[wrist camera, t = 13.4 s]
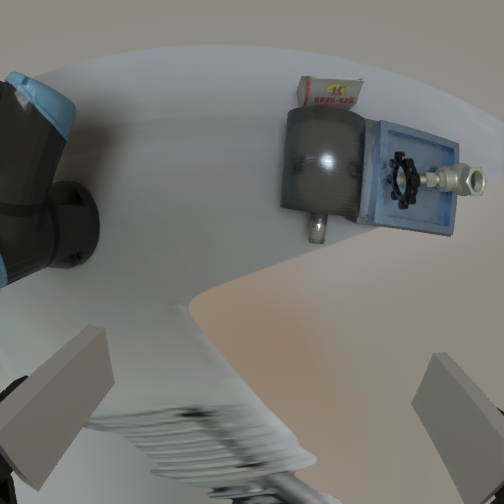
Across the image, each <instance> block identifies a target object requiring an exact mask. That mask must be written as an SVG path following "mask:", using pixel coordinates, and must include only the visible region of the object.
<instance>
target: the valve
mask: <svg viewBox="0 0 504 504" xmlns="http://www.w3.org/2000/svg"><path fill="white" fill-rule="evenodd" d="M394 157H395V159H389V161H388V164H389V167H390V168H391V170H392V172H391V175H388V176H387V181H388V183H389V184H392V187H393V191H392V192H391V199H392V200H398V208H399V209H400V210H402V209H408V207H409V205H414V204H416V195H417V194H418V188H419V187H420V184H422V186H423V187H435V186H437V188H438V189H439V190H440V191H441V192H448V191H453V192H454V193H455V194H457V195H460V196H467V195H471V196H481V195H482V194H483V192H484V190H485V187H486V178H485V175H484V173H483V170H482V169H481V168H479V167H470V166H469V165H467V164H465V163H456V164H454V165H452V166H447V165H443V166H442V167H439V168H438V169H437V170H436V172H435V173H431V172H425V173H422V174H421V176H420V175H419V173H418V172H417V169H416V167H415V166H414V160H413V159H412V158H404V159H403V160H402V157H405V153H404V152H403V151H396V152H395V153H394ZM399 167H401V168H402V169H403V171H404V173H398V169H399ZM410 169H411V171H410ZM397 174H398V176H397ZM398 185H399V186H398ZM399 187H401V188H405V192H404V194H402V193H401V191H400V189H399ZM412 190H413V193H412ZM405 203H406V204H405Z"/></svg>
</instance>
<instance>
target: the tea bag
mask: <svg viewBox="0 0 504 504" xmlns="http://www.w3.org/2000/svg"><path fill="white" fill-rule="evenodd" d="M361 80H362V78H350V77H334V76H301V79H300V82H299V86H298V89H297V97H298V106H299V107H306V106H325V107H334V108H339V109H344V110H349V109H350V108H351V107H352V106H353V105H355V104H356V102H357V99H358V96H359V92H360V89H361V87H362V84H363V82H364V81H361Z"/></svg>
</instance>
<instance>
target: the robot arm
mask: <svg viewBox="0 0 504 504" xmlns="http://www.w3.org/2000/svg"><path fill="white" fill-rule="evenodd" d="M75 117H76V107H75V105H74V103H73V102H72V101H71V100H69V99H68V98H67V97H65V96H64V95H62V94H60V93H59V92H57V91H56V90H54V89H52V88H50V87H48V86H47V85H45V84H43V83H41V82H39V81H37V80H34V79H31V78H29V77H27V76H25V75H23V74H21V73H18V72H12V73H10V74H9V75H8V76H7V77H6V79H5V82H2V81H0V287H1V288H3V287H6V286H7V285H9V284H11V283H13V282H15V281H17V280H19V279H21V278H23V277H26V276H28V275H30V274H32V273H34V272H36V271H39V270H41V269H43V268H46V267H51V268H63V269H68V268H73V267H75V266H77V265H80V264H82V263H84V262H85V261H86V260H87V259H88V258H89V257H90V256H91V255H92V253H93V251H94V249H95V247H96V244H97V241H98V236H99V217H98V212H97V208H96V205H95V203H94V200H93V198H92V197H91V195H90V194H89V192H88V191H87V190H86V189H85V188H84V187H83V186H81V185H80V184H78V183H76V182H72V181H60V182H56V183H53V184H52V181H53V178H54V175H55V172H56V169H57V166H58V163H59V160H60V157H61V155H62V152H63V149H64V147H65V144H66V142H68V140H69V138H68V136H69V133H70V130H71V128H72V125H73V122H74V120H75ZM114 383H115V381H114V376H113V371H112V366H111V361H110V356H109V351H108V345H107V339H106V332H105V328H101V327H97V326H93V325H89V326H87V327H86V328H85V329H84V330H83V331H81V332H80V333H79V334H78V335H77V336H75V337H74V338H73V339H72V340H71V341H69V342H68V343H67V344H66V345H65V346H63V347H62V348H61V349H60V350H59V351H58V352H56V353H55V354H54V355H53V356H52V357H51V358H49V359H48V360H47V361H46V362H45V363H44V364H43V365H41V366H40V367H39V368H38V369H37V370H36V371H35V372H34V373H32V374H31V375H30V376H27V375H26V376H24V377H21V378H19V379H17V380H15V381H14V382H12V383H11V384H10V385H9V386H8V387H7V388H6V390H4V391H2V392H1V393H0V504H17V500H16V494H15V488H14V481H13V478H12V476H11V475H10V474H11V472H12V471H14V472H15V473H16V474H17V475H18V477H19V478H20V479H21V480H22V481H23V482H25V483H26V484H27V485H29V486H31V487H32V488H33V489H35V490H37V491H39V490H40V488H41V487H42V485H43V484H44V482H45V481H46V479H47V478H48V476H49V475H50V473H51V472H52V470H53V469H54V467H55V466H56V465H57V463H58V461H59V460H60V459H61V457H62V456H63V454H64V453H65V451H66V450H67V449H68V447H69V446H70V444H71V443H72V441H73V440H74V439H75V437H76V436H77V434H78V433H79V432H80V430H81V429H82V427H83V426H84V424H85V423H86V422H87V420H88V419H89V418H90V416H91V415H92V413H93V412H94V411H95V409H96V408H97V406H98V405H99V404H100V402H101V401H102V400H103V398H104V397H105V396H106V394H107V393H108V391H109V390H110V389H111V387H112V386H113V385H114ZM411 404H412V406H413V408H414V410H415V411H416V413H417V415H418V416H419V418H420V420H421V422H422V423H423V425H424V427H425V429H426V431H427V432H428V434H429V435H430V437H431V440H432V441H433V443H434V445H435V447H436V449H437V451H438V452H439V454H440V456H441V458H442V460H443V462H444V464H445V465H446V467H447V469H448V471H449V473H450V475H451V477H452V479H453V481H454V483H455V485H456V487H457V489H458V491H459V493H460V496H461V497H462V500H463V502H464V504H485V503H486V502H487V501H488V500H489V499H490V498H491V497H492V496H493V495H495V497H496V498H495V499H494V500H493V501H492V502H491V503H490V504H504V412H503V411H501V410H500V409H498V408H497V407H496V406H495V405H494V404H493V403H492V402H491V401H490V399H489V398H488V397H487V396H486V395H485V394H484V393H483V392H482V390H481V389H480V388H479V387H478V386H477V385H476V384H475V383H474V382H473V380H472V379H471V378H470V377H469V376H468V375H467V374H466V373H465V372H464V371H463V370H462V369H461V368H460V366H458V364H457V363H456V362H455V361H454V360H453V359H452V358H451V357H450V356H449V355H448V354H447V353H445V352H444V353H434V354H433V355H432V357H431V360H430V363H429V365H428V367H427V370H426V372H425V375H424V377H423V380H422V382H421V384H420V386H419V388H418V391H417V393H416V395H415V397H414V399H413V401H412V403H411Z"/></svg>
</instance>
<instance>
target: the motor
mask: <svg viewBox="0 0 504 504" xmlns="http://www.w3.org/2000/svg"><path fill="white" fill-rule="evenodd" d="M396 151H403V152H404V153H405V157H402V160H403V159H404V158H412V159H413V160H414V166H415V167H416V169H417V172H418V173H419V175H420V176H421V174H422V173H425V172H431V173H435V172H436V170H437V169H438V168H439V167H442V166H443V165H447V166H452V165H454V164H456V163H459V144H458V143H456V142H453V141H450V140H447V139H445V138H442V137H439V136H436V135H433V134H430V133H426V132H423V131H420V130H417V129H413V128H410V127H406V126H402V125H399V124H395V123H391V122H387V121H383V120H380V121H374V120H370V119H365V118H363V117H361V116H360V115H358V114H356V113H353V112H351V111H348V110H344V109H339V108H334V107H325V106H306V107H299V108H295V109H293V110H291V111H289V112H288V117H287V131H286V144H285V157H284V170H283V182H282V194H281V205H280V207H282V208H287V209H293V210H300V211H307V212H312V216H311V226H310V235H309V242H310V243H314V244H324V241H325V233H326V225H327V216H328V214H332V215H341V216H346V220H349V221H352V222H354V223H358V224H366V225H374V226H381V227H389V228H396V229H403V230H410V231H417V232H424V233H430V234H436V235H442V236H451V235H453V230H454V222H455V214H456V205H457V194H455V193H454V192H453V191H448V192H441V191H440V190H439V189H438V188H437V186H435V187H423V186H422V184H420V187H419V188H418V194H417V195H416V204H414V205H409V207H408V209H402V210H400V209H399V208H398V200H392V199H391V192H392V191H393V187H392V184H389V183H388V181H387V176H388V175H391V172H392V170H391V168H390V167H389V164H388V161H389V159H395V157H394V153H395V152H396ZM410 171H411V169H410ZM398 173H404V171H403V169H402V168H401V167H399V169H398ZM397 176H398V174H397ZM398 186H399V185H398ZM399 189H400V191H401V193H402V194H404V192H405V188H401V187H399ZM412 193H413V190H412ZM405 204H406V203H405Z"/></svg>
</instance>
